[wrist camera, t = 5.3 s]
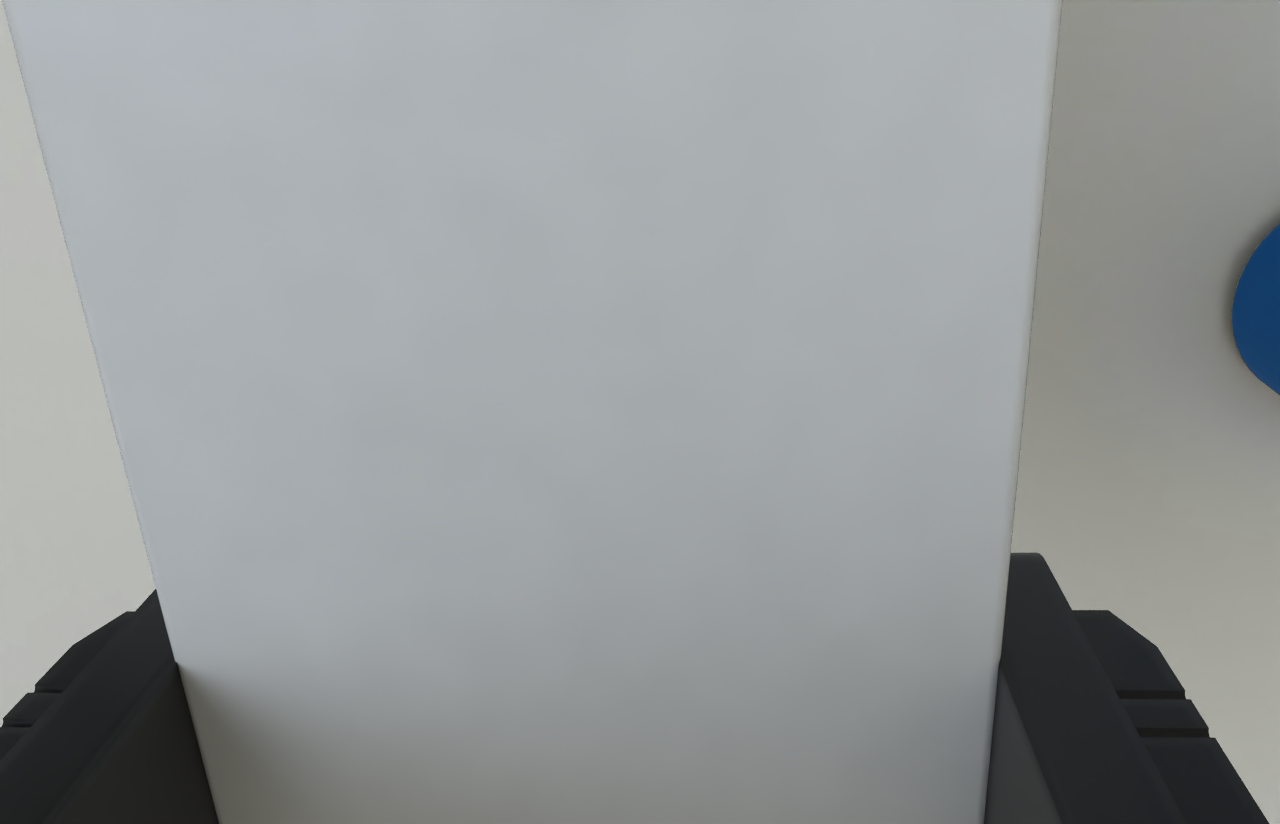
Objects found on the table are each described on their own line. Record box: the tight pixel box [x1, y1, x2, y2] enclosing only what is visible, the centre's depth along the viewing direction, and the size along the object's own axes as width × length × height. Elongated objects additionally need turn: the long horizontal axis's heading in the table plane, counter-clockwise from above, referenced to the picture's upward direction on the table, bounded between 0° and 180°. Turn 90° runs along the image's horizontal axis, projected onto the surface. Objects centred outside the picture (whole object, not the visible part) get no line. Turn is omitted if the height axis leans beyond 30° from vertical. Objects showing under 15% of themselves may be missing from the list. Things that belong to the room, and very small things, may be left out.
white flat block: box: [2, 0, 1062, 824], centre depth 9 cm, size 12×6×2 cm, turn 3°
